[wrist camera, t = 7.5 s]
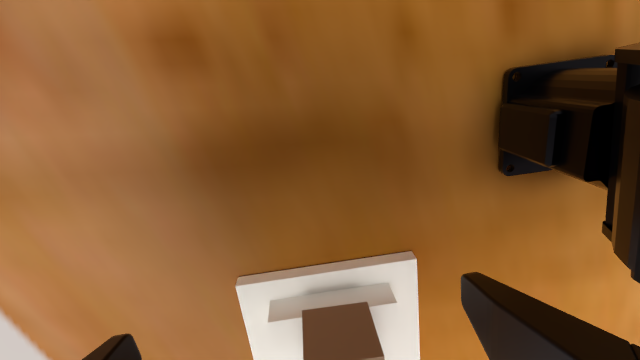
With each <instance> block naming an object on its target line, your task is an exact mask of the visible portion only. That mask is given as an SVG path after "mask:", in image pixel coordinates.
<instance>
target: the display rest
mask: <svg viewBox="0 0 640 360" xmlns="http://www.w3.org/2000/svg"><path fill="white" fill-rule="evenodd" d="M235 287H236V291H237V295H238V299H239V303H240V307H241V311H242V315H243V319H244V323H245V327H246V331H247V334H248V338H249V342H250V346H251V350H252V354H253V358H254V360H303V331H302V310H308V309H316V308H323V307H331V306H338V305H345V304H353V303H360V302H367V303H368V306H369V309H370V312H371V315H372V318H373V322H374V325H375V328H376V331H377V334H378V337H379V341H380V344H381V347H382V350H383V353H384V359H385V360H420V345H419V313H418V281H417V258H416V257H415V255H414V254H413V252H412V251H408V252H402V253H395V254H388V255H382V256H375V257H368V258H362V259H355V260H348V261H342V262H335V263H328V264H322V265H315V266H309V267H302V268H295V269H289V270H282V271H275V272H269V273H262V274H255V275H249V276H242V277H238V279H237V282H236V286H235Z"/></svg>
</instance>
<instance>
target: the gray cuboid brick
mask: <svg viewBox="0 0 640 360" xmlns="http://www.w3.org/2000/svg"><path fill="white" fill-rule="evenodd" d="M302 331H303V360H385V359H384V353H383V350H382V347H381V344H380V341H379V337H378V334H377V331H376V328H375V325H374V322H373V318H372V315H371V312H370V309H369V306H368V303H367V302H360V303H353V304H345V305H338V306H331V307H323V308H316V309H308V310H302Z"/></svg>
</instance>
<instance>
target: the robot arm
mask: <svg viewBox="0 0 640 360" xmlns="http://www.w3.org/2000/svg"><path fill="white" fill-rule="evenodd" d="M607 61H608V65H607V67H606V62H607ZM514 73H516V75H517V77H516V79H515V80H513V78H512V77H513V75H514ZM499 148H500V156H499V171H500V172H501V173H502V174H504V175H506V176H513V175H520V174H527V173H534V172H541V171H548V170H556V171H559V172H561V173H564V174H566V175H569V176H572V177H574V178H577V179H579V180H582V181H585V182H587V183H590V184H593V185H595V186H598V187H600V188H603V189H606V190H608V195H607V208H606V221H603V224H602V233H603V234H604V235H605V236H606V237H607V238H608V239H609V240H610V241H611V242H612V245H613V250H614V253H615V254H616V255H617V256H618V258H619V259H620V260H621V261H622V262H623V263H624V264H625V265H626V266H627V267H628V268H629V269H631V277H632V278H633V279H634V280H635V281H637V282H638V283H640V43H636V44H632V45H628V46H623V47H619V48H616V49H615V55H603V56H596V57H588V58H581V59H573V60H566V61H558V62H551V63H544V64H536V65H529V66H521V67H514V68H510V69H509V70H508V71H507V72H506V73H505V76H504V87H503V104H502V107H501V112H500V130H499ZM508 165H510V168H509V169H508V170H506V169H507V166H508ZM461 301H462V305H463V308H464V310H465V312H466V314H467V316H468V318H469V320H470V322H471V324H472V326H473V328H474V330H475V332H476V334H477V336H478V338H479V340H480V342H481V344H482V346H483V348H484V350H485V352H486V354H487V356H488V357H489V359H490V360H640V347H639V346H637V345H635V344H630V343H629V342H628V341H626V340H624V339H622V338H619V337H617V336H615V335H613V334H611V333H609V332H606V331H604V330H602V329H600V328H598V327H596V326H593V325H591V324H589V323H587V322H585V321H583V320H580V319H578V318H576V317H574V316H572V315H570V314H567V313H565V312H563V311H561V310H559V309H557V308H554V307H552V306H550V305H548V304H546V303H544V302H541V301H539V300H537V299H535V298H533V297H531V296H528V295H526V294H524V293H522V292H520V291H518V290H515V289H513V288H511V287H509V286H507V285H505V284H503V283H500V282H498V281H496V280H494V279H492V278H490V277H487V276H485V275H483V274H481V273H478V272H472V273H467V274H463V275H462V277H461ZM82 360H142V358H141V354H140V352H139V350H138V348H137V345H136V343H135V341H134V338H133V336H132V335H131V334H121V335H116V336H113V337H111V338H110V339H108V340H107V341H106V342H104V343H103V344H102V345H101V346H99V347H98V348H97V349H95V350H94V351H93V352H91V353H90V354H89V355H87V356H86V357H85V358H83V359H82Z"/></svg>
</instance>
